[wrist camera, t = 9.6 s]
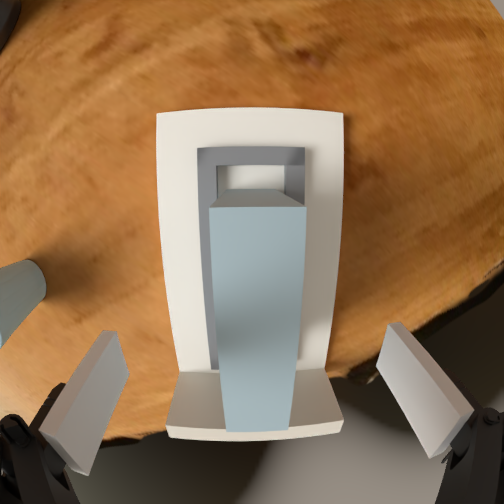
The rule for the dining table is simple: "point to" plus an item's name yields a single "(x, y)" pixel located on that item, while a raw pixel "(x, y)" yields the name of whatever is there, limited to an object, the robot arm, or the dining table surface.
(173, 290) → the track
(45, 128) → the dining table surface
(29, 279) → the cup
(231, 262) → the light blue block
